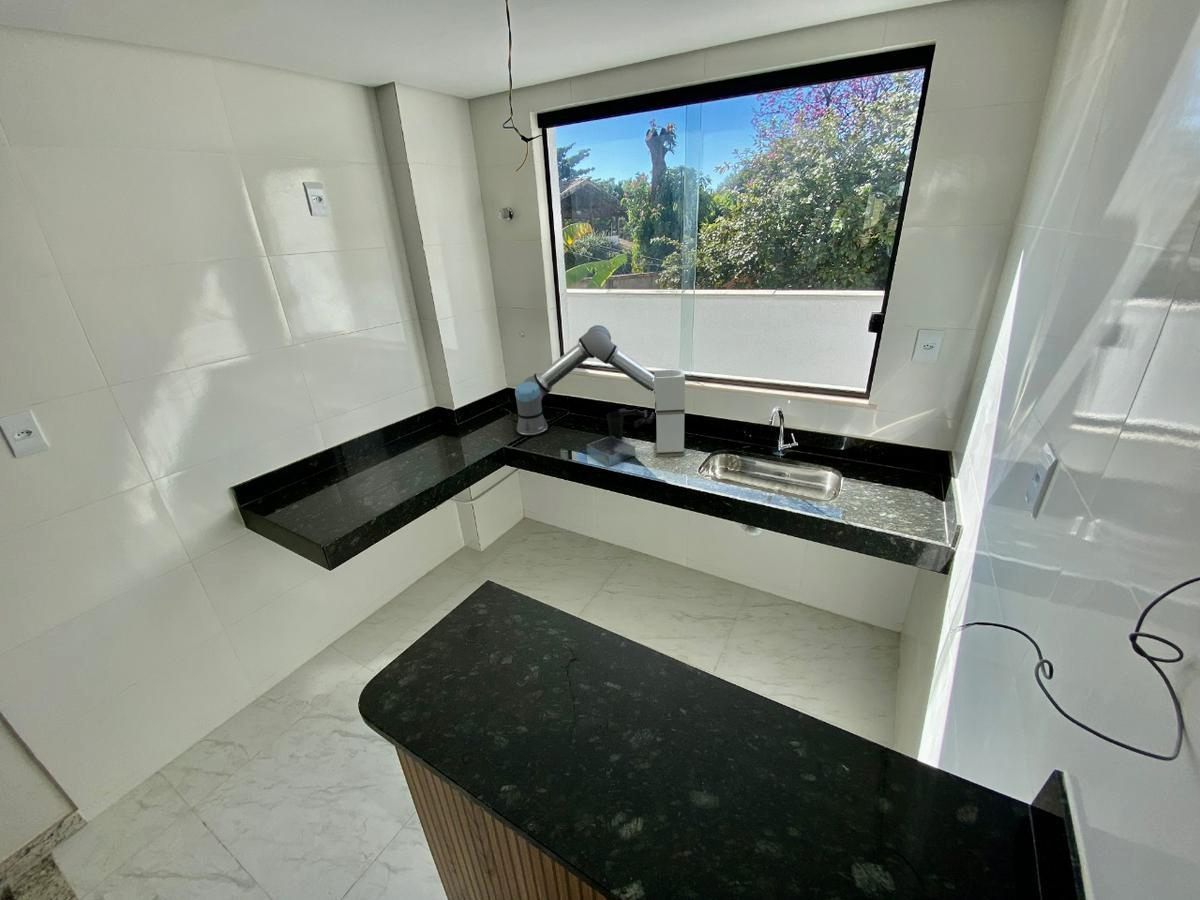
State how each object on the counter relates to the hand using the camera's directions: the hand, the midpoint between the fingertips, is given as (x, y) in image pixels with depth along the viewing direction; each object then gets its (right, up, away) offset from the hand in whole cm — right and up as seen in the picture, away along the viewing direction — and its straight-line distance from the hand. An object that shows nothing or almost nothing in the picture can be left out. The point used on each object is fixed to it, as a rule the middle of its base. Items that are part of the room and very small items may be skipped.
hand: (623, 421), depth 226 cm
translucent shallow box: (-6, -15, -15) cm, 23 cm away
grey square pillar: (+19, -14, -15) cm, 28 cm away
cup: (-3, -8, -1) cm, 9 cm away
